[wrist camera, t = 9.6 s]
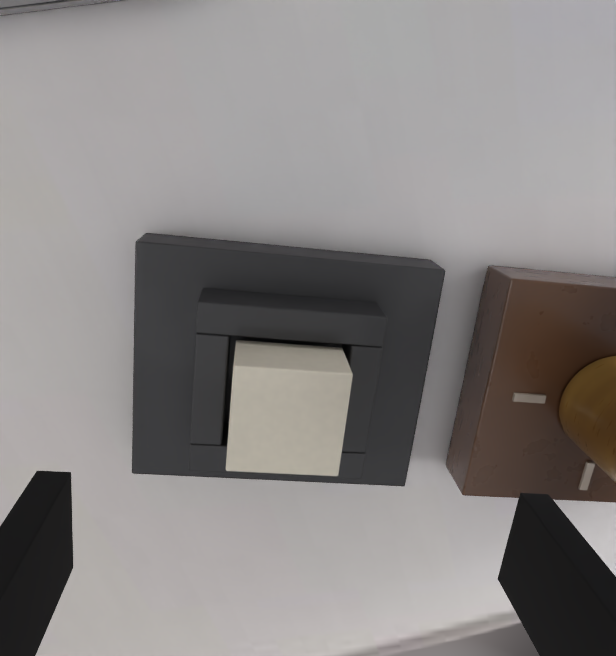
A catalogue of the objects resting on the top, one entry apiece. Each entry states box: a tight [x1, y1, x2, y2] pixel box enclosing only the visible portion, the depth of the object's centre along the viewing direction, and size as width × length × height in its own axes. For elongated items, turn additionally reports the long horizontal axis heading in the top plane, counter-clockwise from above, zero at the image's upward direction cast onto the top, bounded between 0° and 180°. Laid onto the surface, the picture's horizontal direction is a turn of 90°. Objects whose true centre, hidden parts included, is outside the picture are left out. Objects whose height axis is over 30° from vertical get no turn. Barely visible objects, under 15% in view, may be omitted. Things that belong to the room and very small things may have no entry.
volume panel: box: [446, 266, 616, 502], centre depth 25 cm, size 11×10×3 cm
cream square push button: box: [226, 340, 353, 476], centre depth 21 cm, size 4×4×3 cm
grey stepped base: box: [132, 233, 445, 486], centre depth 23 cm, size 12×10×4 cm
